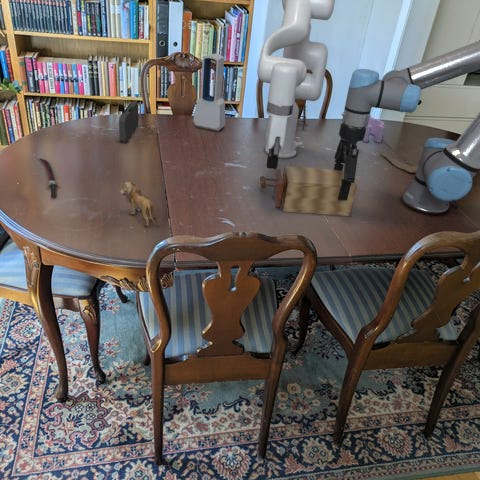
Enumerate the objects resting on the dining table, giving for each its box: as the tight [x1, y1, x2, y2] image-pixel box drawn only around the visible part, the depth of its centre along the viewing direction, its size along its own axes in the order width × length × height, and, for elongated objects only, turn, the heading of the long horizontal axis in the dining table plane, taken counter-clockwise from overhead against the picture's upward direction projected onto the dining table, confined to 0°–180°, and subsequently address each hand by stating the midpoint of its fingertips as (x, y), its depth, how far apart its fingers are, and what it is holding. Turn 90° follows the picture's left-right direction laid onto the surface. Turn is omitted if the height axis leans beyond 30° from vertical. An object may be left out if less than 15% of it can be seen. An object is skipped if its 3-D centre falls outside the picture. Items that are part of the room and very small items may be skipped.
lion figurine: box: [119, 181, 159, 227], centre depth 134 cm, size 15×5×9 cm, turn 50°
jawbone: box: [380, 152, 419, 174], centre depth 187 cm, size 9×20×2 cm, turn 50°
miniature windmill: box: [294, 70, 309, 131], centre depth 208 cm, size 9×8×30 cm
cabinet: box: [280, 165, 357, 217], centre depth 150 cm, size 21×11×10 cm, turn 91°
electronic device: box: [193, 53, 226, 132], centre depth 196 cm, size 12×8×30 cm, turn 71°
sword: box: [40, 158, 59, 198], centre depth 151 cm, size 31×3×1 cm, turn 26°
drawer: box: [259, 168, 287, 208], centre depth 149 cm, size 25×10×8 cm, turn 91°
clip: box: [362, 114, 386, 143], centre depth 214 cm, size 20×12×7 cm, turn 11°
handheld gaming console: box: [118, 101, 139, 143], centre depth 187 cm, size 23×3×10 cm, turn 178°
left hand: (271, 167), depth 144 cm, fingers closed
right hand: (338, 190), depth 150 cm, fingers closed on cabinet, 11 cm apart
